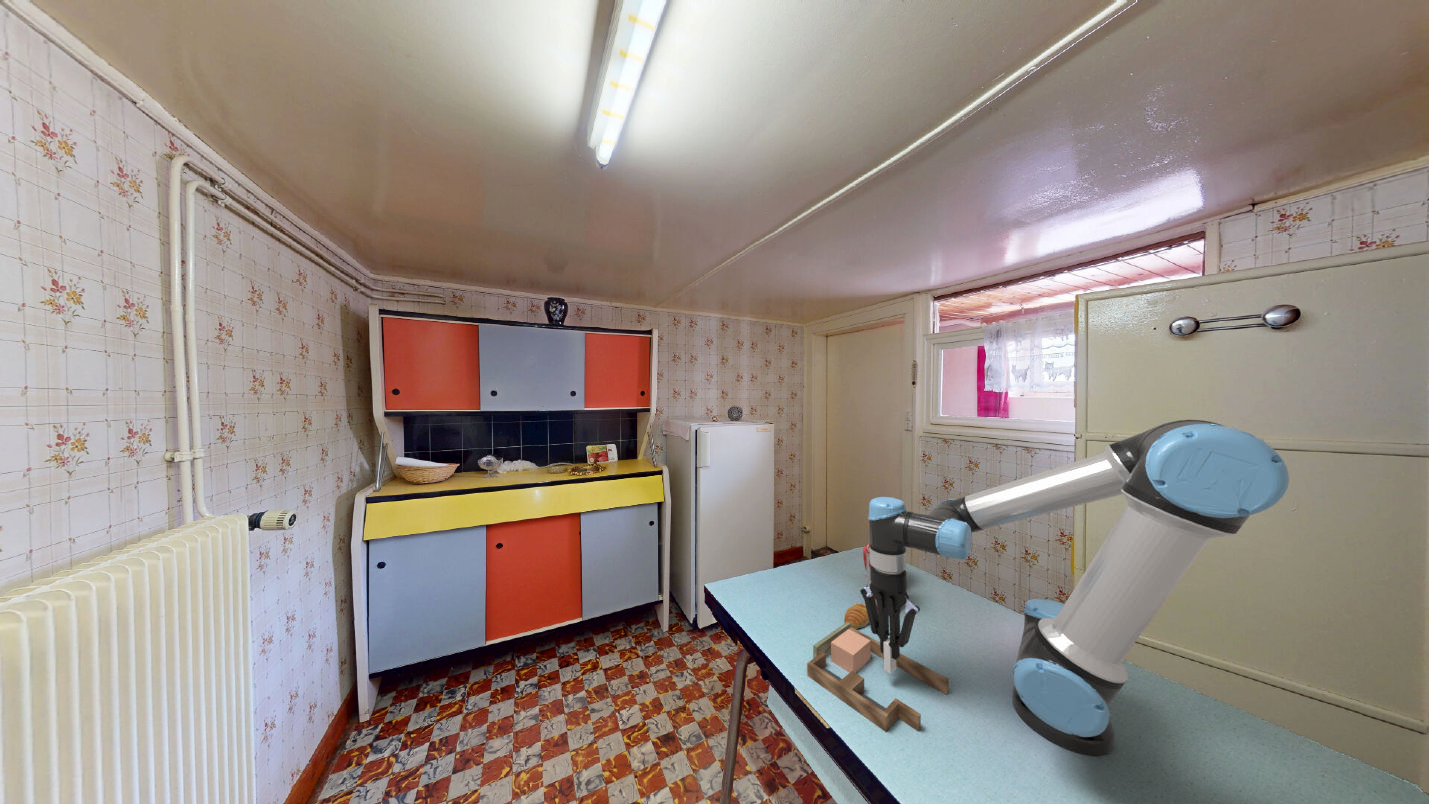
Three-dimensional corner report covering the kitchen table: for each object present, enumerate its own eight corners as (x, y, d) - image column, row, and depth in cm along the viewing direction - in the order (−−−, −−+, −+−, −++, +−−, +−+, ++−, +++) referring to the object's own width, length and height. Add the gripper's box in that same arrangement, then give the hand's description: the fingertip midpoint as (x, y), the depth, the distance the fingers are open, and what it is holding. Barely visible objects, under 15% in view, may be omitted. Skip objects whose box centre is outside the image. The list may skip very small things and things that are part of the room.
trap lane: (948, 692, 84) (948, 674, 84) (906, 746, 72) (906, 726, 71) (847, 635, 104) (847, 621, 103) (800, 670, 91) (800, 654, 91)
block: (870, 659, 95) (870, 640, 94) (853, 675, 90) (853, 655, 89) (848, 647, 99) (848, 628, 99) (831, 661, 94) (831, 642, 94)
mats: (893, 714, 79) (893, 713, 79) (883, 725, 76) (883, 724, 76) (823, 667, 92) (823, 666, 92) (813, 676, 89) (813, 674, 89)
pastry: (861, 635, 104) (861, 621, 104) (838, 625, 109) (837, 611, 109) (874, 619, 111) (874, 607, 111) (852, 610, 115) (852, 598, 115)
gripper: (925, 571, 83) (927, 677, 84) (869, 553, 94) (871, 647, 94) (909, 583, 79) (912, 695, 79) (852, 562, 89) (855, 661, 89)
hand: (890, 669), depth 87 cm, fingers closed
